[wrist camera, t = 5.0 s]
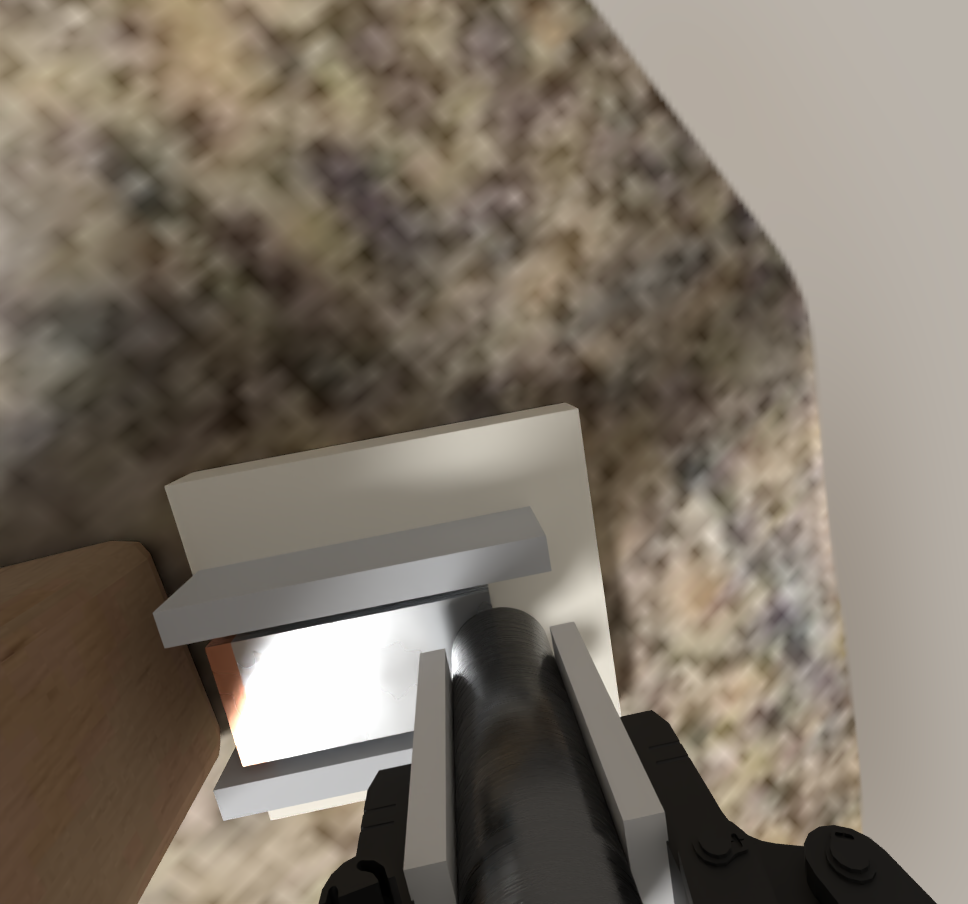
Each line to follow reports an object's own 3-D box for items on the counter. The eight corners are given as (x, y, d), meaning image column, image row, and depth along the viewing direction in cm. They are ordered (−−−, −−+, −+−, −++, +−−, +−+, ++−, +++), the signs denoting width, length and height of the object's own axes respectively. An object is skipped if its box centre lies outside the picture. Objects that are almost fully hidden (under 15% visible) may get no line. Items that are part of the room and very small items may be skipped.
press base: (191, 472, 20) (109, 513, 15) (565, 402, 20) (603, 420, 15) (285, 779, 23) (242, 899, 18) (609, 710, 23) (654, 807, 18)
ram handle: (234, 610, 18) (-160, 1109, 6) (526, 552, 19) (674, 917, 7) (267, 715, 19) (-25, 1328, 7) (544, 658, 20) (703, 1147, 8)
